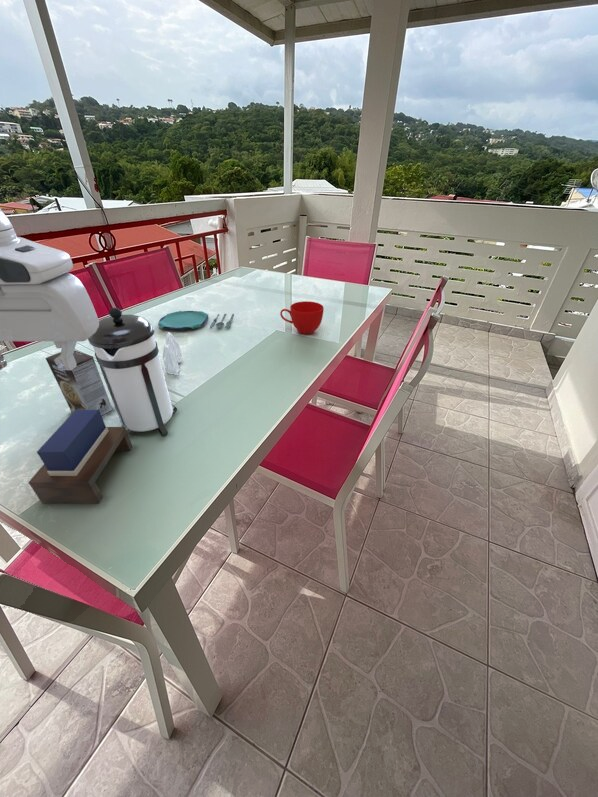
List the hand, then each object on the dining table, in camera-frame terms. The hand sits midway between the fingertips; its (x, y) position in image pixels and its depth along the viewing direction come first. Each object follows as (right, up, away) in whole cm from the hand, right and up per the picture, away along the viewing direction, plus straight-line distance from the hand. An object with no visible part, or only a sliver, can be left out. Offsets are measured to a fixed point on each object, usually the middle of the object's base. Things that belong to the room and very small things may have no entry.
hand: (33, 368), depth 44 cm
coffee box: (-20, -7, +44) cm, 49 cm away
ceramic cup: (+37, +23, +89) cm, 99 cm away
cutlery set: (-7, +27, +94) cm, 98 cm away
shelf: (-8, -20, +26) cm, 34 cm away
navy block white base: (-8, -15, +22) cm, 28 cm away
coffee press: (-2, -10, +41) cm, 42 cm away
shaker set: (-5, +6, +64) cm, 64 cm away
